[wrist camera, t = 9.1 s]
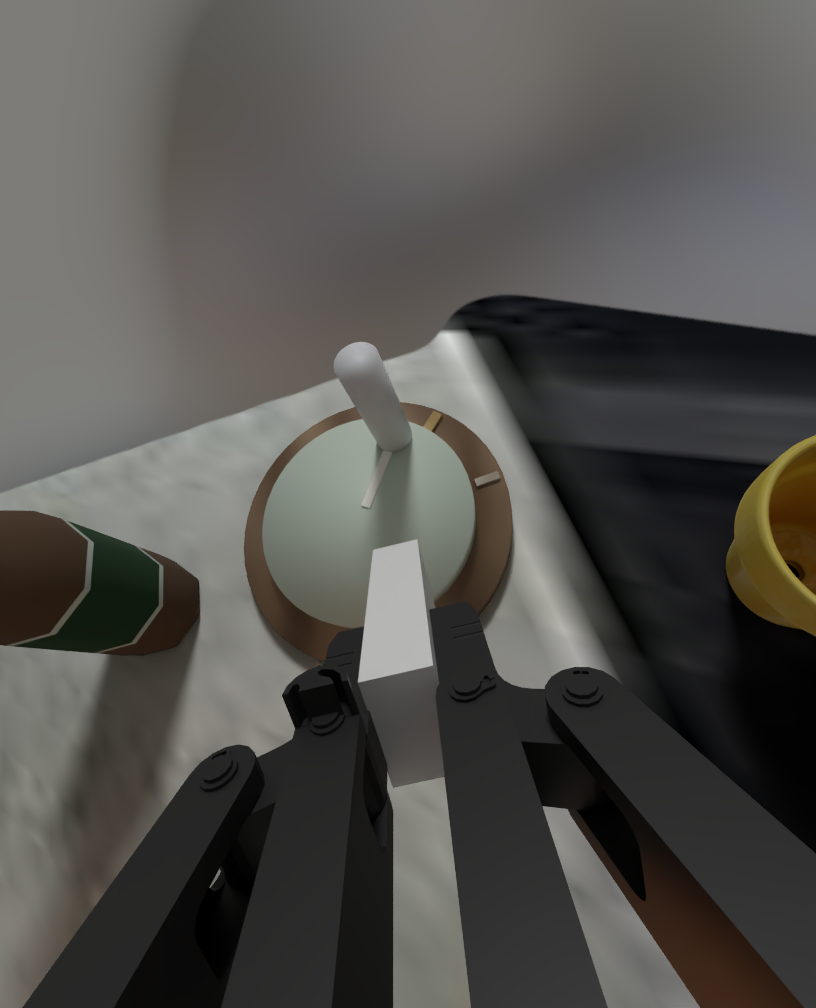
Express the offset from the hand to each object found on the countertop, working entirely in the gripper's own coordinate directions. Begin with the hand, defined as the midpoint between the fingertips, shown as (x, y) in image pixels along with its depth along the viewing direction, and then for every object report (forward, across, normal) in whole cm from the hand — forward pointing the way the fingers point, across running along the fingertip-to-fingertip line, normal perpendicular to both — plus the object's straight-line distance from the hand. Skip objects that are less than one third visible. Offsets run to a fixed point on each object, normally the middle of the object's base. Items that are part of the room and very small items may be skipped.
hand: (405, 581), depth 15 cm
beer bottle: (+21, -22, -8) cm, 31 cm away
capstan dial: (+19, -3, -4) cm, 20 cm away
